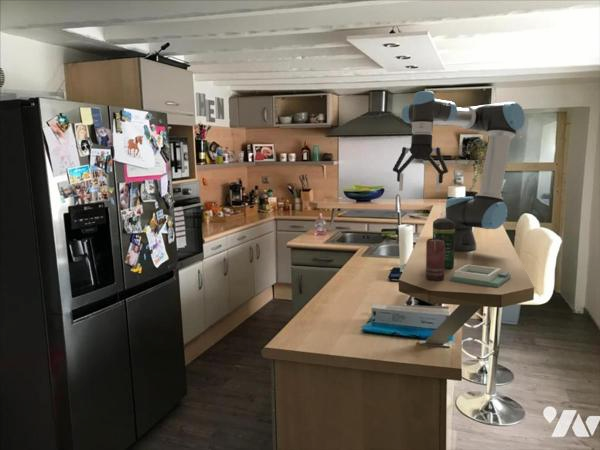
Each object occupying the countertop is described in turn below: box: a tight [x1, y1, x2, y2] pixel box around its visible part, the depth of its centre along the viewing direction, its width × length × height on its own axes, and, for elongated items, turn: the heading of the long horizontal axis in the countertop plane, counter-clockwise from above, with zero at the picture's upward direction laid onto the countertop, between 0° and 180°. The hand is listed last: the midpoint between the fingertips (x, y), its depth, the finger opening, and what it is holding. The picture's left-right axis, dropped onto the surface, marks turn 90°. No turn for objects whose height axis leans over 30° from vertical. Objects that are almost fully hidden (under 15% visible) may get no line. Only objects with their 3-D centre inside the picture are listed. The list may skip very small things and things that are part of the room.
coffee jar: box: [432, 217, 455, 270], centre depth 188 cm, size 10×8×19 cm
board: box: [449, 264, 511, 288], centre depth 169 cm, size 14×16×3 cm
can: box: [425, 238, 445, 282], centre depth 171 cm, size 6×6×14 cm
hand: (418, 191), depth 185 cm, fingers open, 13 cm apart
